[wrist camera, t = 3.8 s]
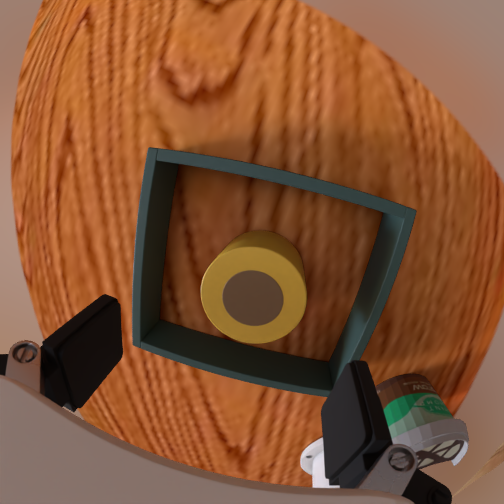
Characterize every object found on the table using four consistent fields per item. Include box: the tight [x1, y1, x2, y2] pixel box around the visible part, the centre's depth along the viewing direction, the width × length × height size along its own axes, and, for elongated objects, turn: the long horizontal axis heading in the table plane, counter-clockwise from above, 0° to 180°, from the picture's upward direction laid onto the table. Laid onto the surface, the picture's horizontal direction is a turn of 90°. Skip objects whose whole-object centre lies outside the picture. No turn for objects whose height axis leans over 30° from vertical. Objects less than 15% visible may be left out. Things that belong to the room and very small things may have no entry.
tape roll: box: [201, 230, 307, 344], centre depth 19 cm, size 7×7×5 cm
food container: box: [375, 374, 469, 469], centre depth 18 cm, size 12×6×10 cm, turn 80°
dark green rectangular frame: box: [132, 147, 416, 397], centre depth 19 cm, size 18×16×4 cm
